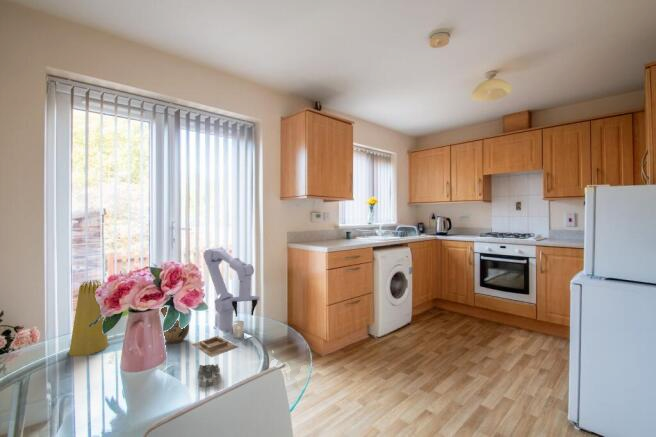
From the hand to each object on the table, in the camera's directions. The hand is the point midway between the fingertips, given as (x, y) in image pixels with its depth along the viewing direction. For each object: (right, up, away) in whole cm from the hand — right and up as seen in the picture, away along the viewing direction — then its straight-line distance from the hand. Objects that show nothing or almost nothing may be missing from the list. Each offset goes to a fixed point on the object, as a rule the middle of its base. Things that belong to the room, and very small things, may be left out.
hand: (244, 315), depth 148 cm
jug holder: (-9, -10, -14) cm, 20 cm away
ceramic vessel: (-30, -9, -11) cm, 33 cm away
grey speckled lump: (-2, -11, -40) cm, 42 cm away
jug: (-1, -9, -6) cm, 11 cm away
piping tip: (-63, -8, -19) cm, 66 cm away
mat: (-2, -10, -4) cm, 11 cm away
